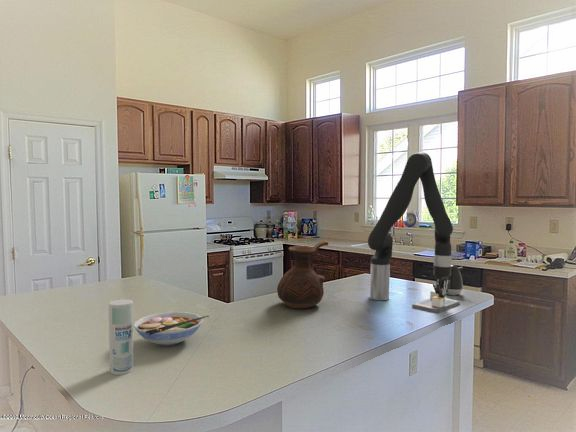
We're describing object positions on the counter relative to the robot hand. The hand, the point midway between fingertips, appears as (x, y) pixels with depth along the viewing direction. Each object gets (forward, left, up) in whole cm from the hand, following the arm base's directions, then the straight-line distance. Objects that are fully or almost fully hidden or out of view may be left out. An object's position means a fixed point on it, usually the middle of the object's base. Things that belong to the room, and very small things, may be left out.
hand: (441, 302), depth 192 cm
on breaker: (0, +10, -1) cm, 10 cm away
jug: (-63, -5, -3) cm, 64 cm away
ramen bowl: (-103, -60, -3) cm, 120 cm away
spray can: (-107, -84, -3) cm, 137 cm away
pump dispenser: (+12, +29, -3) cm, 31 cm away
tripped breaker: (-2, -3, -1) cm, 4 cm away
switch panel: (-1, +4, -2) cm, 5 cm away
